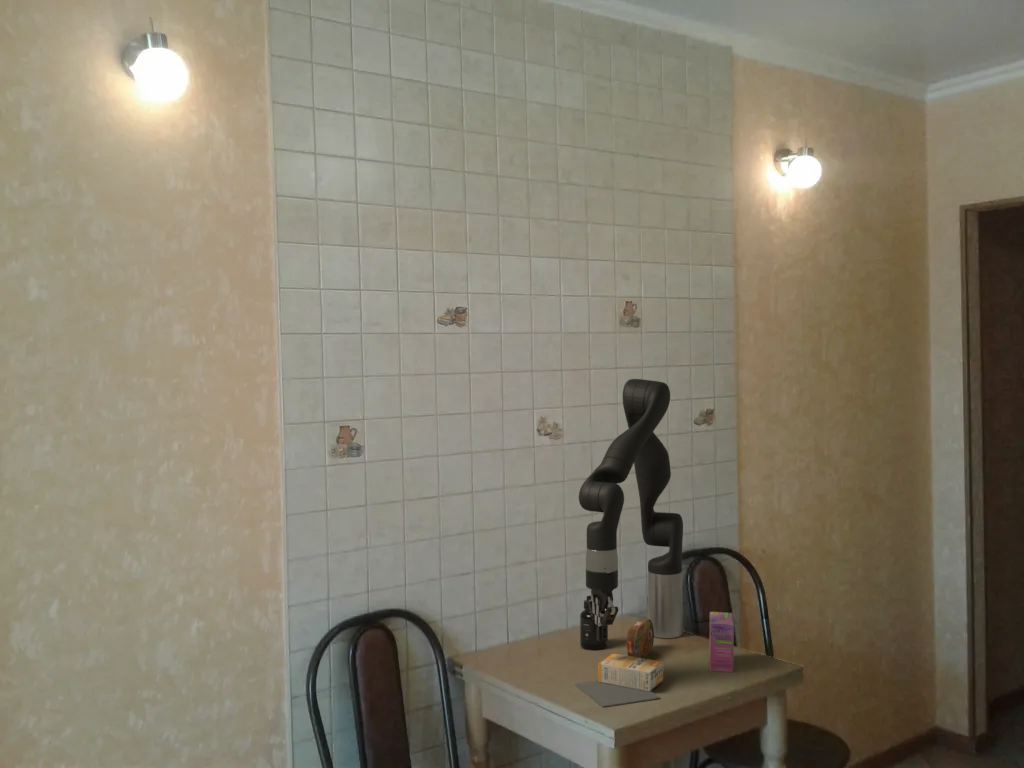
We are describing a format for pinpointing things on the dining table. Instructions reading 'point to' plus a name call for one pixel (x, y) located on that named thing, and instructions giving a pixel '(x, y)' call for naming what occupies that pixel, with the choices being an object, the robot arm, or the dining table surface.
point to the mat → (614, 693)
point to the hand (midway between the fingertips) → (602, 640)
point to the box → (721, 642)
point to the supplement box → (630, 672)
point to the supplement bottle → (589, 631)
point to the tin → (640, 639)
